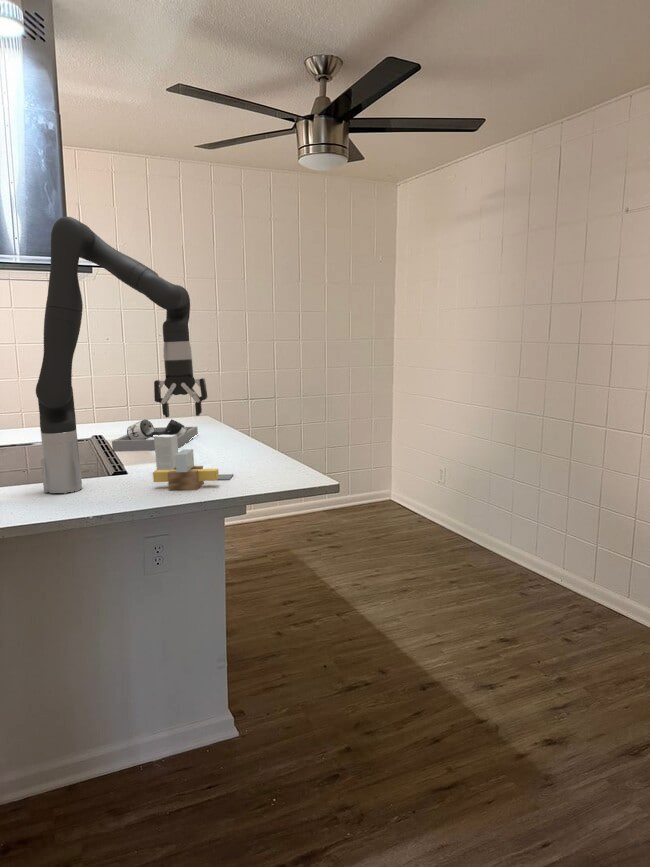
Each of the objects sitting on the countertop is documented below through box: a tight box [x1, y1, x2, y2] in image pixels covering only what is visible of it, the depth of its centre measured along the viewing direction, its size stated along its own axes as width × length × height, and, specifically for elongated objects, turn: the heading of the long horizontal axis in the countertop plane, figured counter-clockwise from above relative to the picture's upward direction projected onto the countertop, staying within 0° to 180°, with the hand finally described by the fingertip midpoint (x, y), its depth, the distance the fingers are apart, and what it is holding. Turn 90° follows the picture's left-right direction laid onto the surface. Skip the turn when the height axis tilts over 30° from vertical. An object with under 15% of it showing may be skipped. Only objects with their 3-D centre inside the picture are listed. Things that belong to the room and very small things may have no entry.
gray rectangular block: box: [175, 448, 195, 472], centre depth 169 cm, size 3×8×5 cm, turn 178°
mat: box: [217, 473, 234, 481], centre depth 180 cm, size 22×6×1 cm, turn 88°
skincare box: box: [153, 435, 179, 470], centre depth 188 cm, size 6×4×12 cm
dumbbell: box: [126, 418, 187, 440], centre depth 244 cm, size 25×10×10 cm, turn 85°
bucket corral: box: [111, 426, 199, 452], centre depth 245 cm, size 25×33×4 cm
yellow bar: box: [152, 468, 220, 483], centre depth 170 cm, size 18×3×3 cm, turn 88°
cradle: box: [168, 465, 205, 492], centre depth 170 cm, size 8×8×5 cm
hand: (182, 416), depth 168 cm, fingers open, 8 cm apart
